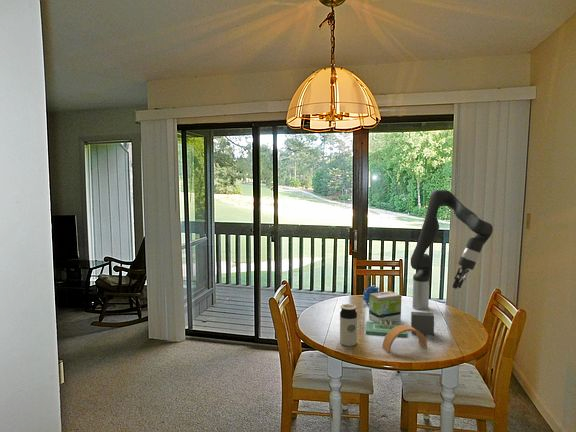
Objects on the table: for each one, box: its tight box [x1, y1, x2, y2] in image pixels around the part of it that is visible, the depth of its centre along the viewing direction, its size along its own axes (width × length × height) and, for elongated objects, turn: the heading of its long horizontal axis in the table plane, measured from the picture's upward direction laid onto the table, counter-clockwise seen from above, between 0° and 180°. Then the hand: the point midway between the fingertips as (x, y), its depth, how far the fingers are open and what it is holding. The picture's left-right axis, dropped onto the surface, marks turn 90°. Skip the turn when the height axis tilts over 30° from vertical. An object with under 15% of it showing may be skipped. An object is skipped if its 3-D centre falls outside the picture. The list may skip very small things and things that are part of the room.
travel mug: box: [339, 303, 358, 347], centre depth 182 cm, size 8×8×18 cm
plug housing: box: [410, 311, 435, 337], centre depth 194 cm, size 5×10×10 cm, turn 77°
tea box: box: [368, 290, 402, 323], centre depth 213 cm, size 15×10×15 cm
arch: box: [382, 324, 428, 353], centre depth 176 cm, size 6×20×10 cm, turn 104°
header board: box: [365, 321, 408, 338], centre depth 198 cm, size 14×20×4 cm
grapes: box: [362, 284, 381, 305], centre depth 243 cm, size 12×7×12 cm, turn 104°
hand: (456, 287), depth 193 cm, fingers open, 8 cm apart
